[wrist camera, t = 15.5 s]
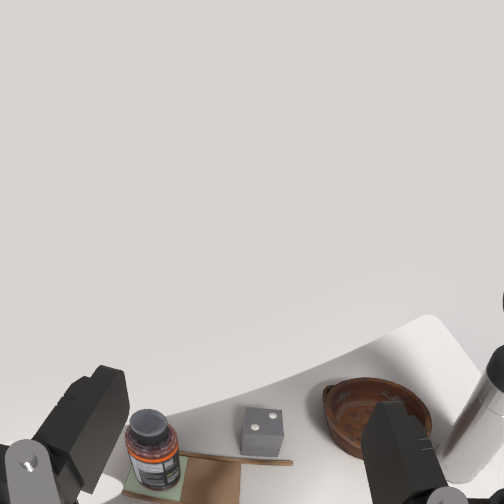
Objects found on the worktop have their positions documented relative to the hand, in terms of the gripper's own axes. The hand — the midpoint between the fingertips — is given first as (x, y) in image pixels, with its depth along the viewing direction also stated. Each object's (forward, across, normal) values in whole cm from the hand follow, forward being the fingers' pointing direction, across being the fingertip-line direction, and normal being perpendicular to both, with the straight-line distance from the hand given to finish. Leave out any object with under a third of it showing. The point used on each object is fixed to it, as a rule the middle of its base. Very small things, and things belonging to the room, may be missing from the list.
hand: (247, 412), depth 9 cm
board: (+14, +2, +30) cm, 34 cm away
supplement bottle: (+14, +9, +30) cm, 35 cm away
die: (+22, -3, +30) cm, 38 cm away
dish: (+26, -21, +31) cm, 45 cm away
